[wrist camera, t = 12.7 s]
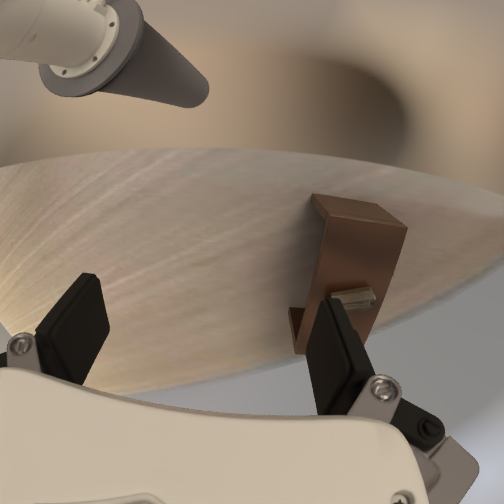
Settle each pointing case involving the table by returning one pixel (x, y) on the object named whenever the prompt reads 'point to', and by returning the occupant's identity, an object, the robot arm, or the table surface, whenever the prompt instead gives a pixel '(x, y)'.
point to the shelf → (350, 261)
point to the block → (355, 299)
